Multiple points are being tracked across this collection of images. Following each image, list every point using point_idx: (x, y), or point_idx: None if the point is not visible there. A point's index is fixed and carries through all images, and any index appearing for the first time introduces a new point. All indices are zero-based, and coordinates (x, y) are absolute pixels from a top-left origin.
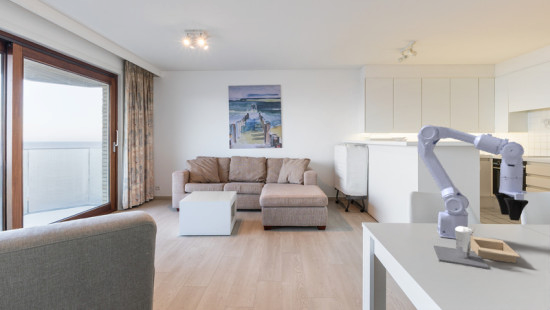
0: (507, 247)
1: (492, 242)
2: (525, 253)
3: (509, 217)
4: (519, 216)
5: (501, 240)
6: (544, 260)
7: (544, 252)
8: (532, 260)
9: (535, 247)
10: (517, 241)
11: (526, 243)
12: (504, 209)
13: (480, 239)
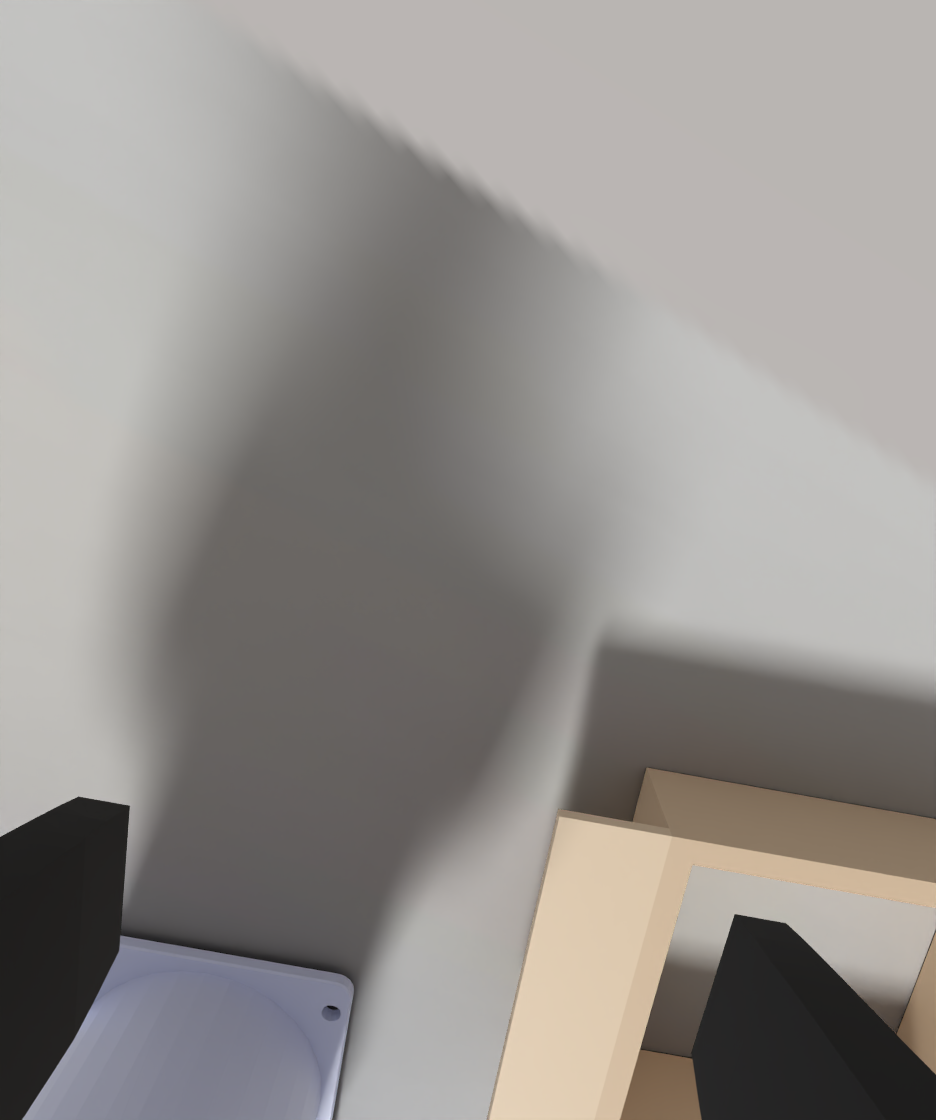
0: (851, 888)
1: (658, 958)
2: (643, 538)
3: (703, 1116)
4: (865, 1027)
5: (576, 829)
6: (856, 446)
7: (534, 237)
8: (881, 598)
9: (334, 232)
10: (118, 347)
11: (173, 259)
12: (22, 1039)
13: (606, 1071)
